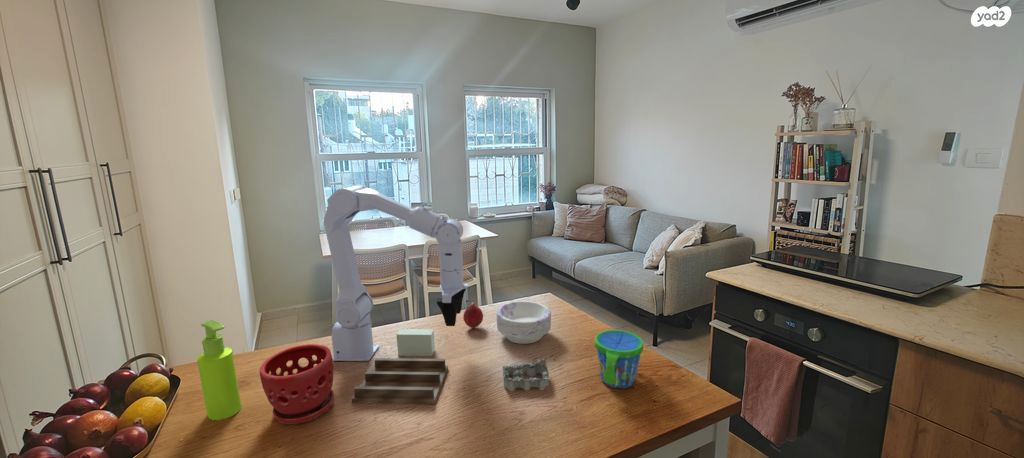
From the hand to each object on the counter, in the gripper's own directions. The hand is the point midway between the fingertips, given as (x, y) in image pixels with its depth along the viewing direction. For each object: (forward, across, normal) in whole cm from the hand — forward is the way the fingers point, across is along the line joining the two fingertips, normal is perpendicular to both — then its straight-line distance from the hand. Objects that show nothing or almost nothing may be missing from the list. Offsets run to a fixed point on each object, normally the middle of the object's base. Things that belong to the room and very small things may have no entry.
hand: (453, 319), depth 109 cm
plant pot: (+10, -24, +27) cm, 38 cm away
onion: (+10, +16, -3) cm, 19 cm away
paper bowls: (+10, +11, -18) cm, 23 cm away
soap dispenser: (+10, -25, +43) cm, 51 cm away
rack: (+10, -14, +9) cm, 20 cm away
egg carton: (+10, -12, -19) cm, 25 cm away
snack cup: (+10, -11, -40) cm, 42 cm away
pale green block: (+10, +1, +10) cm, 14 cm away
